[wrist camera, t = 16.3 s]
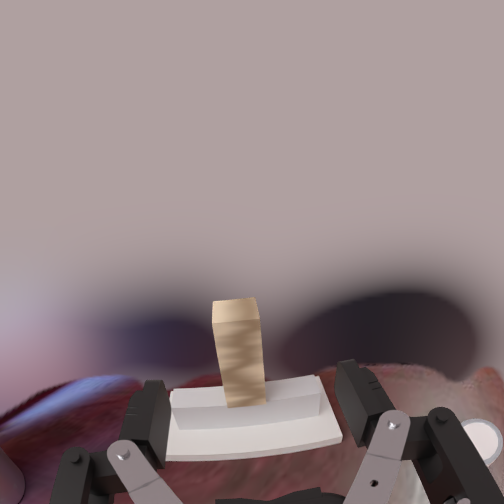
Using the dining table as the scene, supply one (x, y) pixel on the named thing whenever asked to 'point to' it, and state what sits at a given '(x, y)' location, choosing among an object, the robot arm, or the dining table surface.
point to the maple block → (239, 351)
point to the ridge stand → (251, 422)
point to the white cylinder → (484, 438)
